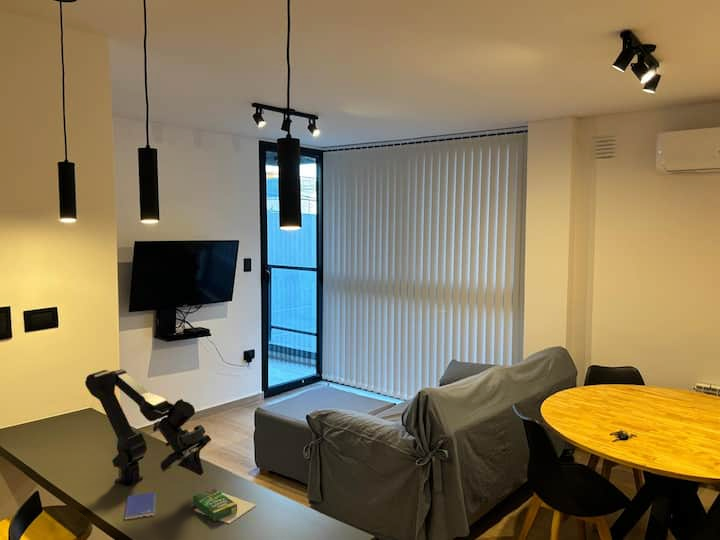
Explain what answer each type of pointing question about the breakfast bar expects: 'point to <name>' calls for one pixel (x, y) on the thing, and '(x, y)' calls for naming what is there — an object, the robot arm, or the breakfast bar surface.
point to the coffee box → (214, 504)
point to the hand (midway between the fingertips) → (201, 474)
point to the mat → (241, 509)
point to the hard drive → (140, 505)
